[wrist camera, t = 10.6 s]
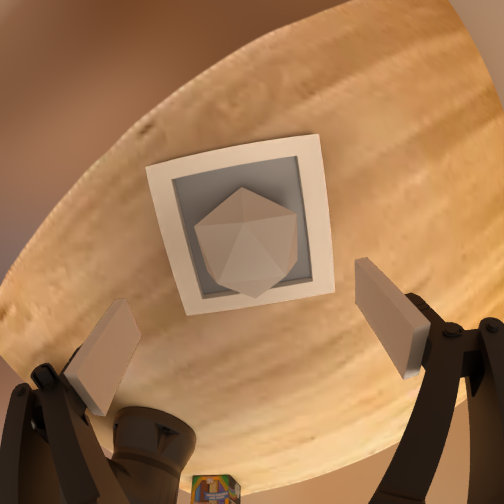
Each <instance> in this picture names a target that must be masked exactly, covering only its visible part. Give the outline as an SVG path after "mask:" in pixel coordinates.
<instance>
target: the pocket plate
mask: <svg viewBox="0 0 504 504" xmlns="http://www.w3.org/2000/svg"><path fill="white" fill-rule="evenodd" d="M145 169H146V174H147V178H148V183H149V187H150V191H151V195H152V200H153V204H154V208H155V212H156V215H157V219H158V223H159V227H160V231H161V234H162V238H163V242H164V245H165V249H166V252H167V256H168V259H169V262H170V266H171V269H172V272H173V276H174V279H175V282H176V285H177V288H178V291H179V295H180V298H181V301H182V304H183V307H184V310H185V313H186V316H190V315H198V314H206V313H213V312H220V311H227V310H234V309H241V308H247V307H254V306H260V305H266V304H272V303H278V302H284V301H290V300H296V299H301V298H307V297H312V296H317V295H323V294H328V293H333V292H335V283H334V266H333V252H332V239H331V228H330V217H329V208H328V199H327V190H326V182H325V174H324V167H323V160H322V153H321V146H320V140H319V134H312V135H303V136H295V137H287V138H280V139H273V140H267V141H261V142H255V143H249V144H243V145H238V146H232V147H227V148H222V149H217V150H212V151H208V152H203V153H199V154H194V155H190V156H186V157H181V158H177V159H173V160H169V161H166V162H162V163H158V164H154V165H151V166H147V167H145ZM241 187H243V188H245V189H247V190H249V191H252V192H254V193H256V194H258V195H260V196H262V197H264V198H266V199H268V200H270V201H272V202H275V203H277V204H279V205H281V206H283V207H285V208H287V209H289V210H291V211H293V212H295V213H297V262H296V263H295V264H294V266H293V267H292V269H291V270H290V271H289V273H288V274H287V275H286V277H284V278H283V279H282V280H280V281H279V282H278V283H276V284H275V285H273V286H272V287H271V288H269V289H268V290H267V291H265V292H264V293H263V294H261V295H260V296H259V297H257V298H253V297H250V296H248V295H245V294H242V293H240V292H237V291H234V290H232V289H229V288H226V287H224V286H221V285H219V284H217V283H216V281H215V280H214V279H213V278H212V276H211V275H210V274H209V272H208V271H207V268H206V265H205V262H204V258H203V255H202V252H201V248H200V245H199V242H198V238H197V235H196V231H195V228H194V226H195V225H196V224H198V223H199V222H200V221H201V220H202V219H203V218H205V217H206V216H207V215H208V214H209V213H210V212H212V211H213V210H214V209H215V208H216V207H218V206H219V205H220V204H221V203H222V202H224V201H225V200H226V199H227V198H229V197H230V196H231V195H232V194H233V193H235V192H236V191H237V190H238V189H240V188H241Z"/></svg>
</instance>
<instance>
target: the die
mask: <svg viewBox="0 0 504 504" xmlns="http://www.w3.org/2000/svg"><path fill="white" fill-rule="evenodd" d="M194 228H195V231H196V235H197V238H198V242H199V245H200V248H201V252H202V255H203V258H204V262H205V265H206V268H207V271H208V272H209V274H210V275H211V276H212V278H213V279H214V280H215V281H216V283H217V284H219V285H221V286H224V287H226V288H229V289H232V290H234V291H237V292H240V293H242V294H245V295H248V296H250V297H253V298H257V297H259V296H260V295H261V294H263V293H264V292H265V291H267V290H268V289H269V288H271V287H272V286H273V285H275V284H276V283H278V282H279V281H280V280H282V279H283V278H284V277H286V275H287V274H288V273H289V271H290V270H291V269H292V267H293V266H294V264H295V263H296V262H297V213H295V212H293V211H291V210H289V209H287V208H285V207H283V206H281V205H279V204H277V203H275V202H272V201H270V200H268V199H266V198H264V197H262V196H260V195H258V194H256V193H254V192H252V191H249V190H247V189H245V188H243V187H241V188H240V189H238V190H237V191H236V192H235V193H233V194H232V195H231V196H230V197H229V198H227V199H226V200H225V201H224V202H222V203H221V204H220V205H219V206H218V207H216V208H215V209H214V210H213V211H212V212H210V213H209V214H208V215H207V216H206V217H205V218H203V219H202V220H201V221H200V222H199V223H198V224H196V225H195V226H194Z"/></svg>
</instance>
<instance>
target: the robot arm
mask: <svg viewBox="0 0 504 504" xmlns="http://www.w3.org/2000/svg"><path fill="white" fill-rule="evenodd" d="M355 303H356V304H357V306H358V307H359V309H360V310H361V312H362V313H363V315H364V317H365V318H366V320H367V321H368V323H369V324H370V326H371V328H372V329H373V331H374V332H375V334H376V335H377V337H378V339H379V340H380V342H381V343H382V345H383V347H384V348H385V350H386V352H387V353H388V355H389V357H390V358H391V360H392V361H393V363H394V365H395V367H396V368H397V370H398V372H399V373H400V375H401V377H402V378H403V380H405V379H408V378H411V377H413V376H416V375H419V372H420V368H421V365H422V366H423V367H424V369H425V370H426V371H425V375H424V378H423V381H422V385H421V388H420V391H419V394H418V397H417V400H416V403H415V406H414V408H413V411H412V414H411V417H410V419H409V422H408V424H407V427H406V429H405V432H404V434H403V436H402V439H401V441H400V443H399V446H398V448H397V450H396V452H395V454H394V457H393V459H392V461H391V463H390V465H389V467H388V469H387V471H386V473H385V475H384V477H383V478H382V480H381V482H380V484H379V486H378V488H377V489H376V491H375V493H374V495H373V496H372V498H371V500H370V501H369V503H368V504H425V497H426V494H427V492H428V490H429V487H430V485H431V482H432V479H433V477H434V474H435V472H436V469H437V466H438V463H439V460H440V458H441V455H442V452H443V448H444V445H445V442H446V438H447V435H448V431H449V428H450V423H451V420H452V416H453V412H454V407H455V403H456V398H457V393H458V387H459V382H460V378H462V377H465V383H466V390H467V399H468V410H469V424H470V476H469V490H468V500H467V504H504V324H503V322H502V321H500V320H499V319H497V318H492V317H488V318H484V319H483V320H481V322H480V324H479V327H478V329H472V330H464V329H463V328H462V326H460V325H458V324H456V323H453V322H445V321H444V320H443V319H442V318H441V317H440V316H439V315H438V314H437V313H436V312H435V311H434V310H433V309H432V308H430V306H429V305H428V304H427V303H426V302H425V301H424V300H423V299H422V298H421V297H420V296H418V295H416V294H414V293H408V294H403V293H402V292H401V291H400V290H399V289H398V288H397V287H396V285H395V284H394V283H393V282H392V281H391V280H390V279H389V278H388V277H387V276H386V275H385V274H384V273H383V272H382V271H381V270H380V269H379V268H378V267H377V266H376V265H375V264H374V263H373V262H372V261H371V260H369V259H368V258H367V257H366V258H361V259H356V260H355ZM141 336H142V335H141V333H140V331H139V329H138V326H137V324H136V322H135V319H134V317H133V314H132V312H131V310H130V307H129V305H128V302H127V300H126V298H123V299H115V301H114V302H113V303H112V305H111V306H110V307H109V309H108V310H107V311H106V313H105V314H104V315H103V317H102V318H101V319H100V321H99V322H98V324H97V325H96V326H95V328H94V329H93V331H92V332H91V333H90V335H89V336H88V338H87V339H86V341H85V342H84V343H83V344H82V345H81V346H80V347H79V348H77V349H76V351H75V352H74V354H73V355H72V357H71V358H70V359H69V362H67V364H66V365H65V367H64V368H63V370H62V371H61V373H60V374H59V376H58V375H57V373H56V372H55V370H54V368H53V367H52V365H51V364H49V363H44V364H41V365H39V366H38V367H36V368H35V369H34V370H33V372H32V373H31V378H32V380H33V381H34V383H35V384H36V386H37V387H38V388H39V389H37V390H32V388H31V387H30V386H29V384H28V383H22V384H19V385H18V386H16V387H15V389H14V390H13V392H12V394H11V398H10V402H9V406H8V410H7V415H6V419H5V424H4V429H3V434H2V441H1V446H0V504H176V503H177V496H178V489H179V481H180V475H181V472H182V470H183V469H184V467H185V465H186V464H187V462H188V461H189V459H190V457H191V455H192V454H193V452H194V450H195V444H196V436H195V433H194V432H193V430H192V429H191V428H190V427H189V426H188V425H186V424H185V423H184V422H182V421H181V420H179V419H177V418H175V417H173V416H171V415H169V414H166V413H164V412H161V411H157V410H154V409H150V408H144V407H128V408H124V409H121V410H120V411H119V412H118V413H117V415H116V417H115V420H114V423H113V446H114V453H113V456H112V459H109V458H107V457H105V455H104V453H103V451H102V449H101V447H100V445H99V442H98V440H97V438H96V435H95V433H94V431H93V428H92V426H91V423H90V420H89V418H88V416H87V415H86V413H85V410H86V408H87V407H88V409H89V410H90V411H91V413H92V414H93V415H98V416H106V414H107V412H108V409H109V407H110V405H111V402H112V400H113V398H114V395H115V393H116V391H117V388H118V386H119V384H120V382H121V379H122V377H123V375H124V373H125V371H126V368H127V366H128V364H129V362H130V360H131V358H132V355H133V353H134V351H135V349H136V347H137V345H138V343H139V341H140V339H141Z"/></svg>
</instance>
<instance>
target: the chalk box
mask: <svg viewBox="0 0 504 504" xmlns="http://www.w3.org/2000/svg"><path fill="white" fill-rule="evenodd" d="M240 490H241V486H240V485H239V484H238V483H237V482H236V481H235V480H234V479H233V478H232V477H231V476H230V475H219V476H193V480H192V491H191V503H190V504H240V492H241V491H240Z"/></svg>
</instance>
